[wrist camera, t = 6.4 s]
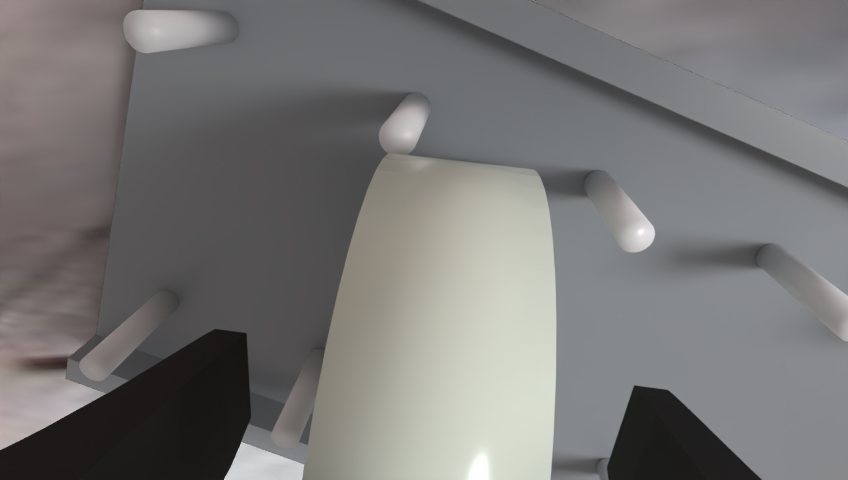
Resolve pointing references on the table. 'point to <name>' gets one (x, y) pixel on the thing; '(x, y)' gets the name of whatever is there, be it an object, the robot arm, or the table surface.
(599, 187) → the dish rack
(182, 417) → the robot arm
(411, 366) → the plate
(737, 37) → the table surface
